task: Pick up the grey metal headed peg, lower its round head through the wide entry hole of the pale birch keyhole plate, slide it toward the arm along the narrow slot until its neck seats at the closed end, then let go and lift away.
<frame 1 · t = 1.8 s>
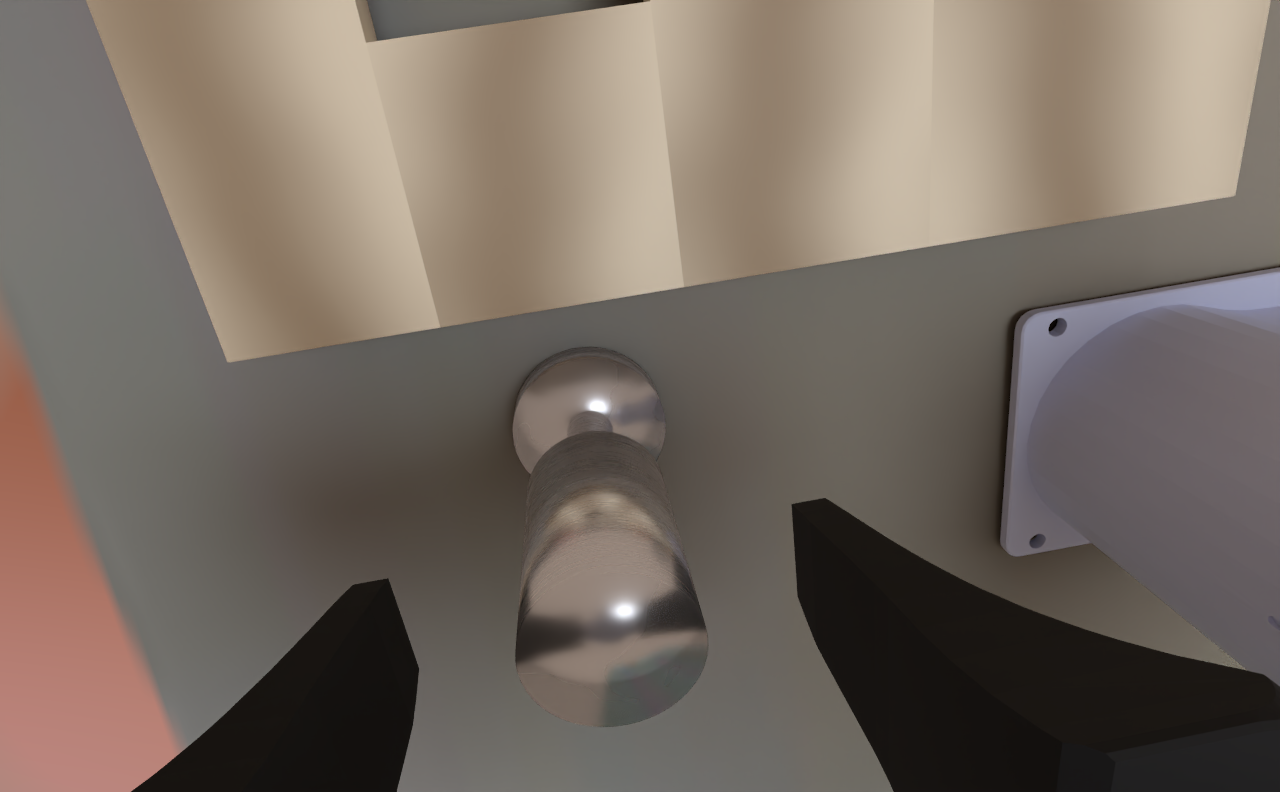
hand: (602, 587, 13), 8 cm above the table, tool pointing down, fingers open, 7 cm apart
peg: (588, 416, 20), on the table
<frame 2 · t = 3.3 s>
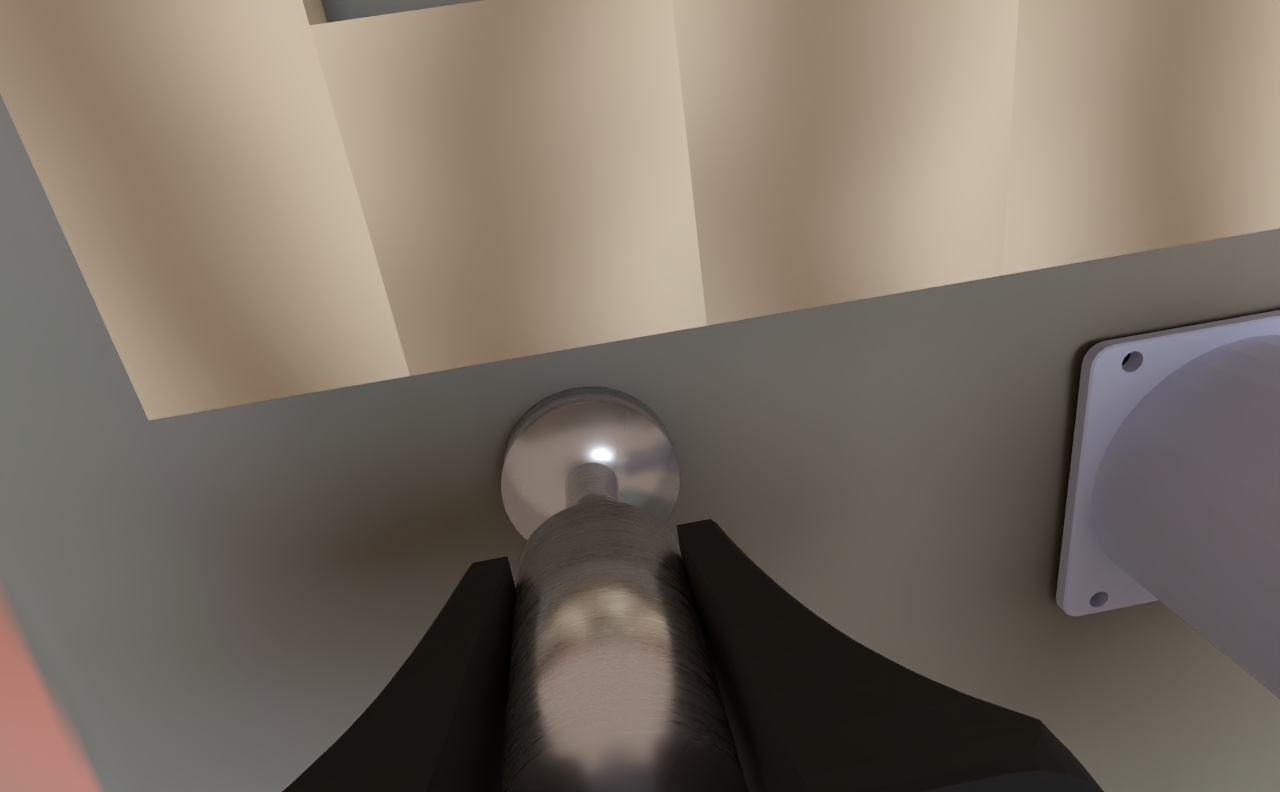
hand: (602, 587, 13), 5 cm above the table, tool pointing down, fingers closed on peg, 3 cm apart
peg: (589, 465, 17), on the table, touching gripper
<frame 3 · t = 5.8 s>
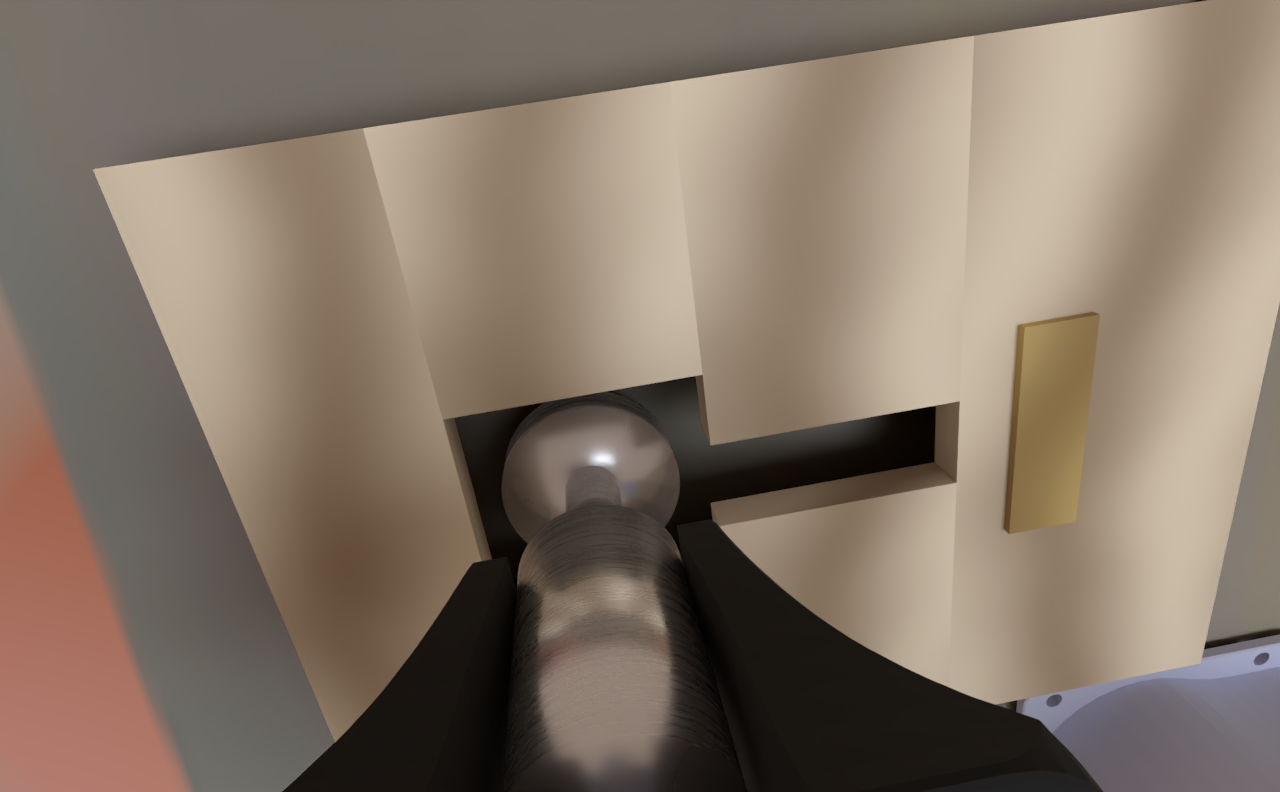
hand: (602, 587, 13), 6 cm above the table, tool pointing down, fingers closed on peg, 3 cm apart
peg: (589, 468, 17), point 1 cm above the table, touching gripper
keyhole plate: (742, 415, 18), on the table
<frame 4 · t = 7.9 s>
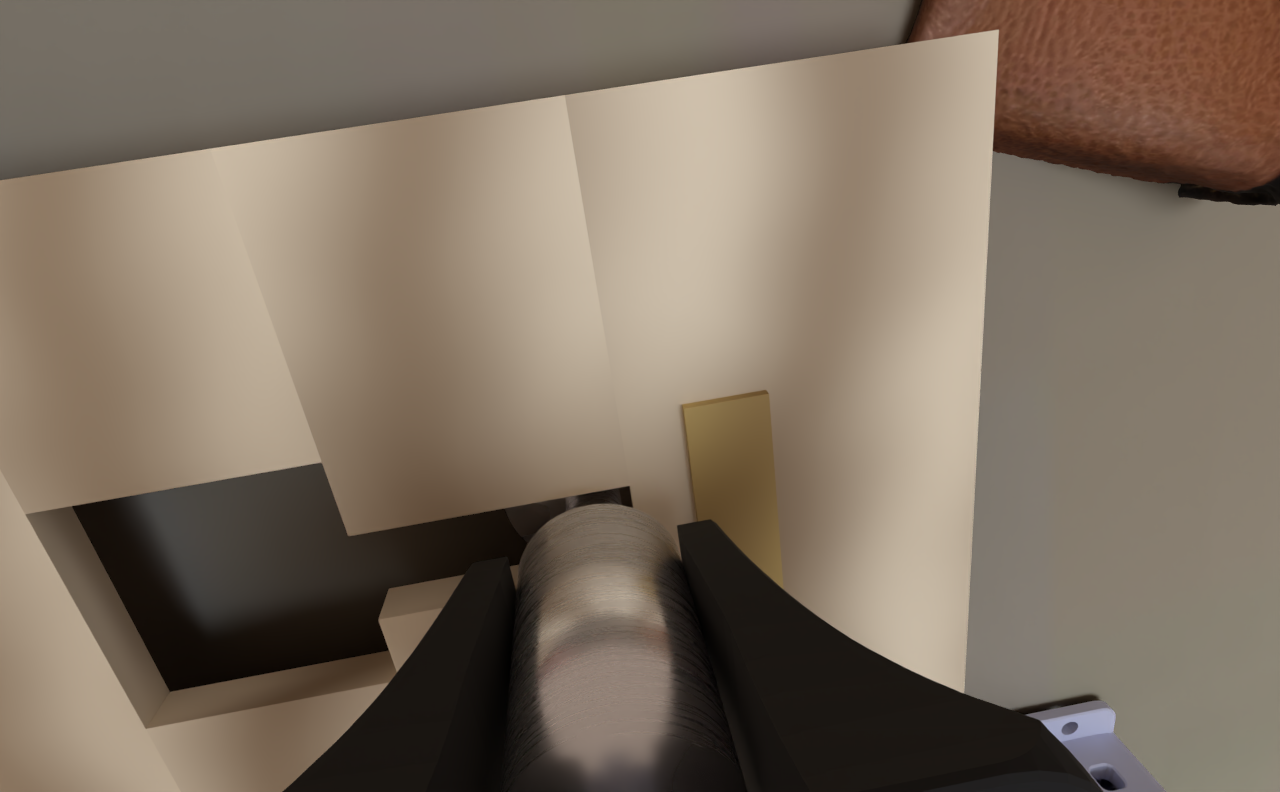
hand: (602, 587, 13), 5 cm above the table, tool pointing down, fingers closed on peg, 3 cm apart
peg: (589, 468, 17), on the table, touching gripper
keyhole plate: (456, 485, 17), on the table
when the fingers open (5 cm above the table, at t = 8.8 s): peg stays where it is, on the table.
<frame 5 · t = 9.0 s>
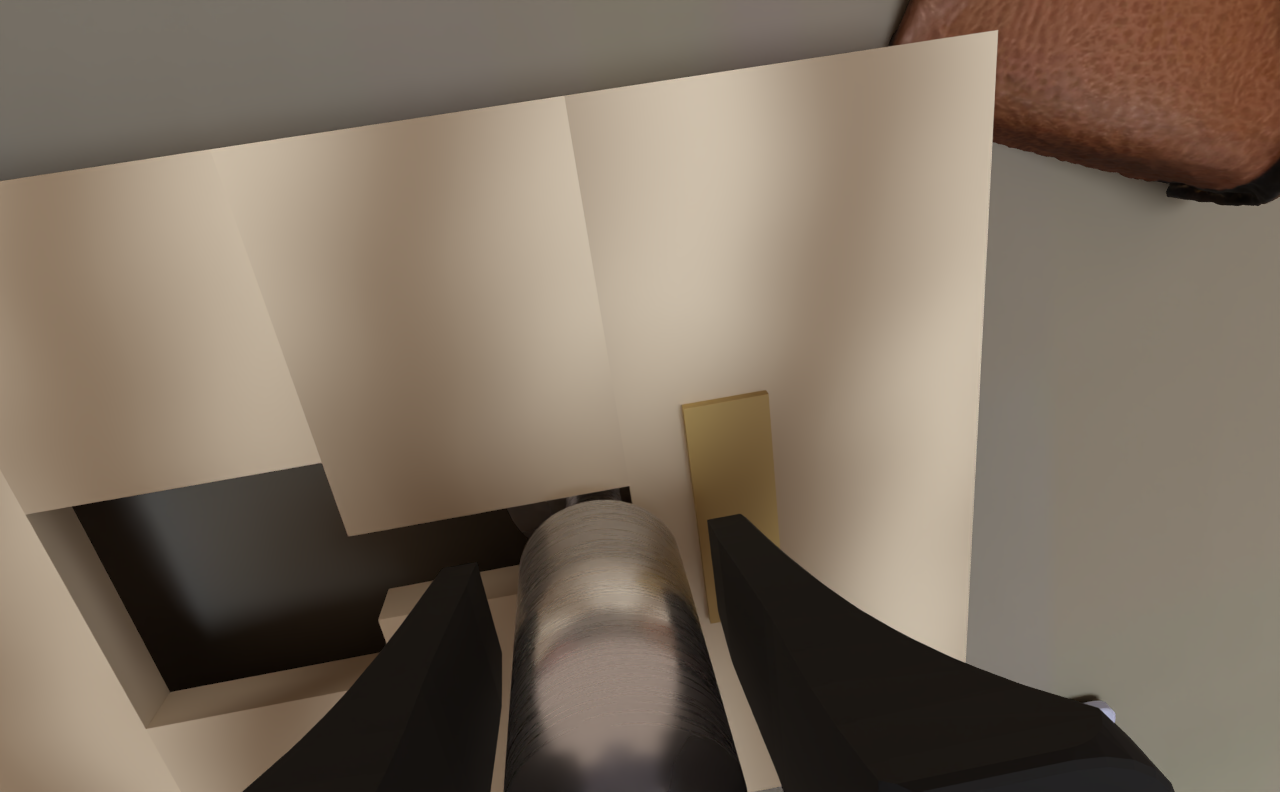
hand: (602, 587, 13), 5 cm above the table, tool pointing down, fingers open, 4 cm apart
peg: (589, 464, 17), on the table
keyhole plate: (456, 485, 17), on the table
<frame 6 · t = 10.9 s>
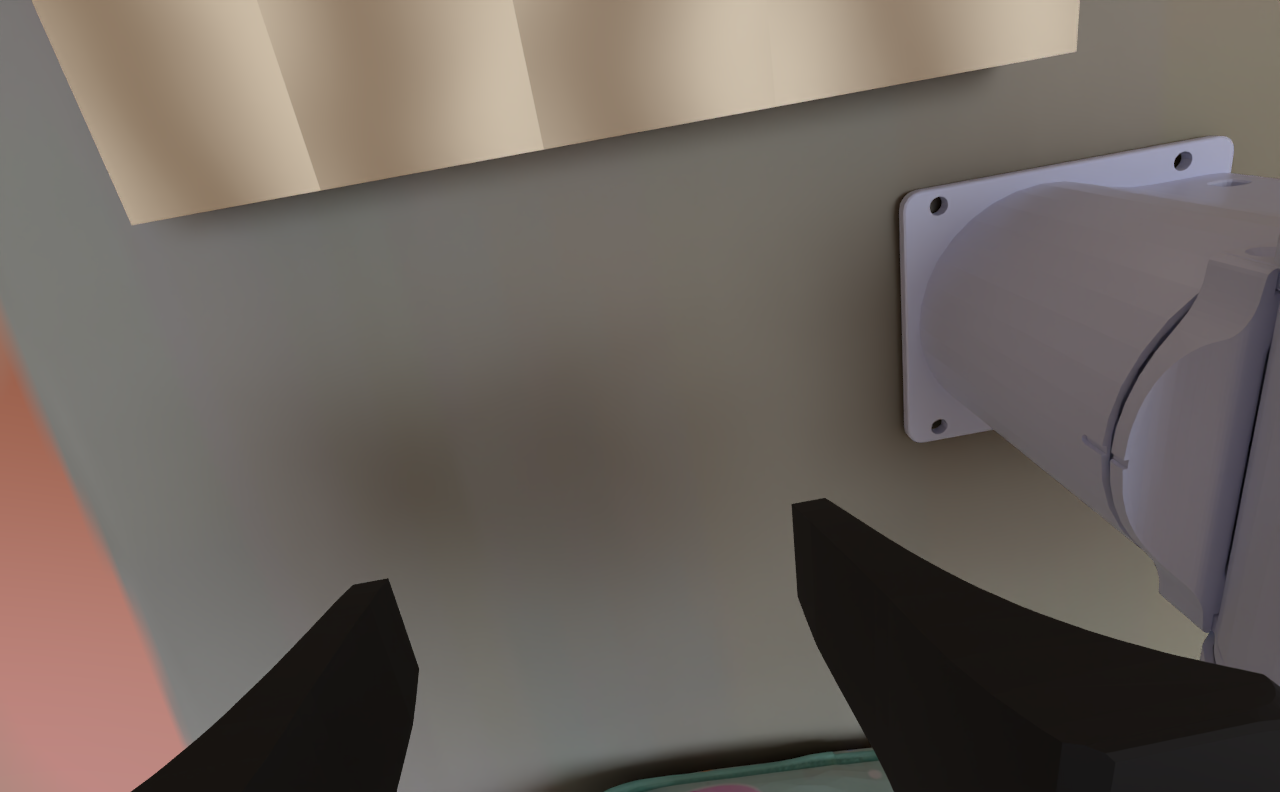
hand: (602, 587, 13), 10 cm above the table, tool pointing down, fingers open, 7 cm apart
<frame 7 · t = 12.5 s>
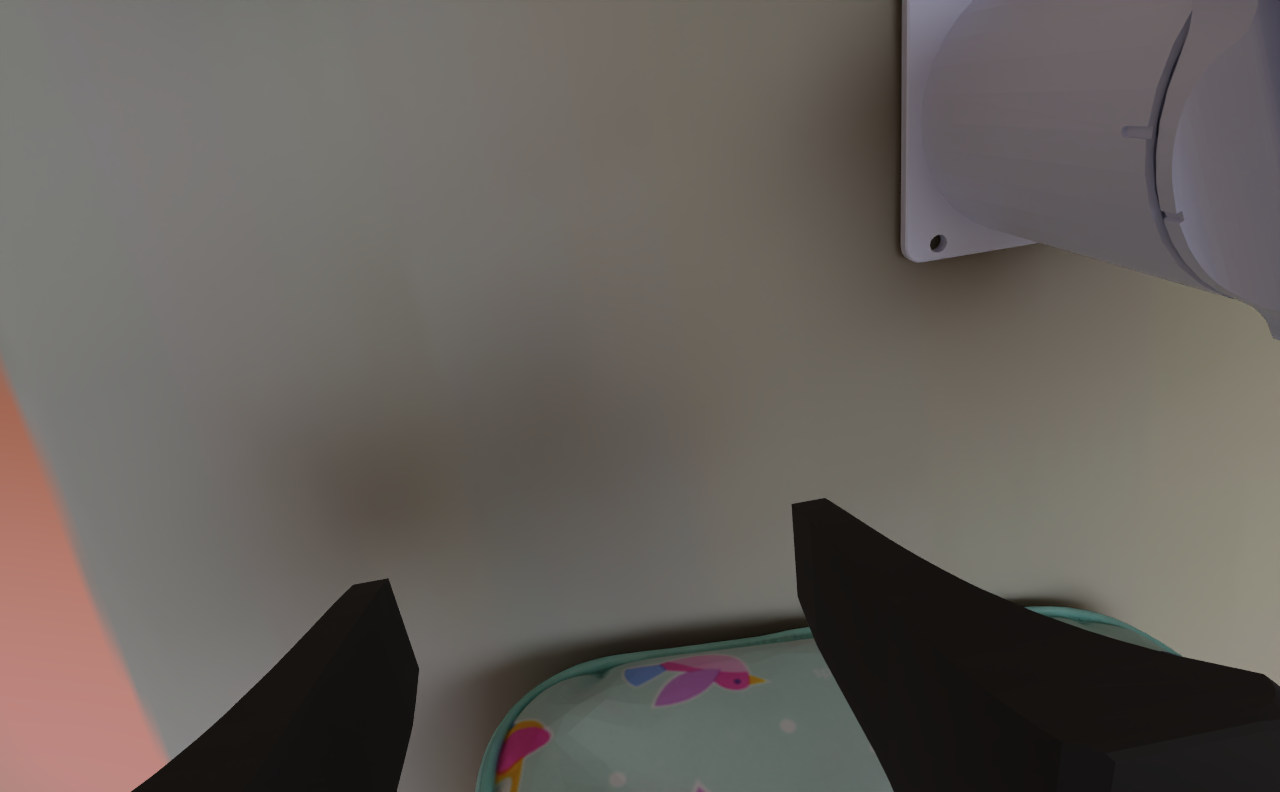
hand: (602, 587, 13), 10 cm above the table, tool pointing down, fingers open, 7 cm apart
lunch box: (827, 696, 29), on the table
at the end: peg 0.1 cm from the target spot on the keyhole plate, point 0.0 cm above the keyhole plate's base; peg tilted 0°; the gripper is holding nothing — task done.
